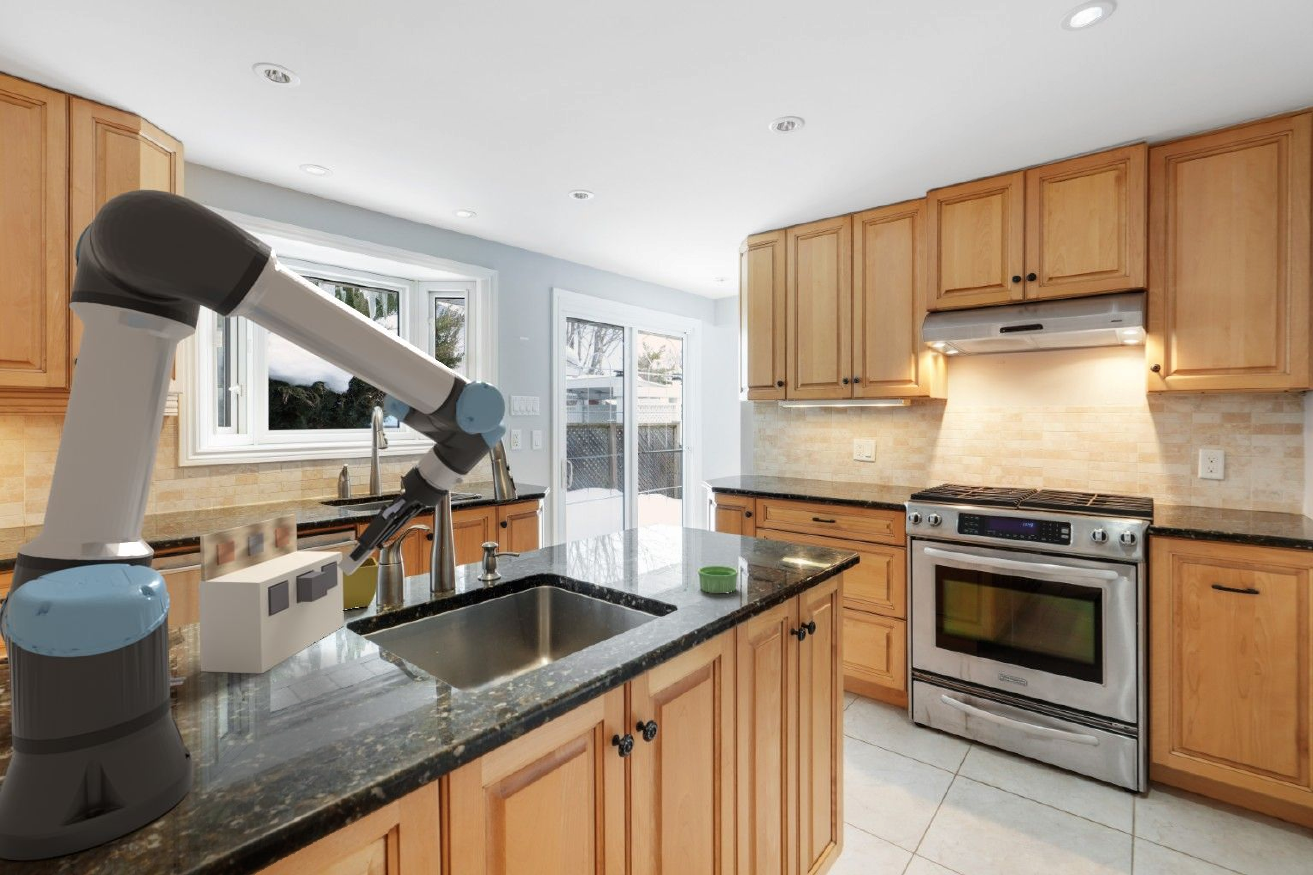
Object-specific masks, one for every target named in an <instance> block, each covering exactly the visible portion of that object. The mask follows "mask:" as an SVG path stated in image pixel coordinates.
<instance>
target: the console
mask: <svg viewBox="0 0 1313 875" xmlns="http://www.w3.org/2000/svg"><path fill="white" fill-rule="evenodd" d="M342 560H343V552H342V551H316V550H315V551H306V550H305V551H301V550H297V551H296V552H293V553H290V554H287V555H284V556H281V557H278V558H275V559H272V560H269V561H266V562H263V563H260V564H256V565H253V566H250V567H247V568H244V569H241V570H238V571H235V572H232V573H229V574H226V575H223V576H220V577H217V578H214V579H211V580H208V581H201V580H198V583H197V584H198V613H199V648H200V650H199V651H200V672H209V673H211V672H214V673H237V674H261V675H262V674H264V673H266V672H268V671H270V670H271V669H272V668H275V667H276V666H278V665H280V664H281V663H284V661H285V662H286V660H288V659H290V658H292V657H293V656H296V655H297V654H299V653H300V652H302V651H304V650H305V649H307V648H309V647H311V646H312V645H314V644H315V643H314V642H316V643H317V641H318V642H319V641H321V640H322V638H323V637H324V638H326V637H328V636H330V635H331V634H333V633H335V632H336V630H337V631H338V630H340V629H341V627H342V626H343V625H344V626H345V623H344V621H345V620H344V617H345V616H344V613H345V612H344V611H343V571H342V570H341V569H340V568H339V566H338V564H339V563H340V562H341V561H342ZM329 563H337V580H338V584H337V585H335V586H333V587H330V588H328V589H327V595H326V596H324V597H322V598H320V599H318V600H315V601H313V602H297V590H296V576H299V575H302V574H304V573H307V572H321V567H322V566H324V565H327V564H329ZM281 582H289V607H286V608H284V609H282V610H280V611H278V612H275V613H273V614H269V609H268V587H270V586H273V585H275V584H278V583H281ZM339 628H340V629H339ZM342 628H343V627H342ZM334 631H335V632H334ZM332 632H333V633H332ZM330 633H331V634H330ZM329 634H330V635H329ZM325 636H326V637H325ZM324 638H323V639H324ZM320 639H321V640H320ZM313 643H314V644H313ZM311 644H312V645H311ZM310 645H311V646H310ZM308 646H309V647H308ZM303 649H304V650H303Z"/></svg>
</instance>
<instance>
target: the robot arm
mask: <svg viewBox="0 0 1313 875" xmlns="http://www.w3.org/2000/svg"><path fill="white" fill-rule="evenodd" d="M74 252H75V253H74V259H75V261H76V262H75V267H76V270H75V276H74V279H73V280H74V281H73V285H72V291H71V295H70V301H69V308H70V309H71V311H72V312H73V313H74V314H75V315H76V317H78V319H79V320H80V321H81V322H82V324H83V329H82V333H81V334H82V335H81V338H80V339H81V340H80V342H79V343H80V344H79V349H78V354H77V357H76V358H77V360H76V363H75V368H74V374H73V377H72V378H73V379H72V383H71V387H70V388H71V389H70V393H69V396H68V402H67V408H66V410H65V412H66V413H65V416H64V421H63V422H64V423H63V426H62V427H63V428H62V432H61V436H60V440H59V446H58V451H57V456H56V462H55V466H54V471H53V475H52V479H51V485H50V489H49V495H48V500H47V504H46V508H45V514H44V518H43V524H42V529H41V532H40V533H39V534H38V535H37V536H36V537H34V538H33V539H31V540H30V541H28V542H26V543H24V544H23V545H21V546H20V547H19V548H18V550H17V555H16V560H15V564H14V569H13V574H12V579H11V584H10V587H9V591H7V593H6V598H4V600H3V601H2V602H1V606H0V636H1V638H2V641H3V642H4V643H5V644H4V645H5V650H6V654H7V655H6V656H7V662H8V663H7V664H8V674H9V688H10V689H9V691H10V692H9V694H10V716H11V737H12V738H11V739H12V740H11V741H12V755H11V759H10V762H9V765H8V767H7V771H6V773H5V776H4V779H3V782H2V785H1V787H0V858H1V859H4V860H13V861H33V860H43V859H49V858H55V857H59V856H65V855H68V854H69V855H70V854H73V853H76V852H81V851H83V850H88V849H91V848H93V847H96V846H99V845H103V844H104V843H108V842H110V841H112V840H115V839H118V838H121V837H123V836H125V835H127V834H130V833H132V832H133V831H136V830H138V829H140V828H142V827H143V826H145V825H147V824H149V823H150V822H152V821H154V820H157V818H160V817H161V816H162V815H164V814H165V813H167V812H168V811H170V810H171V809H172V808H174V807H175V806H176V805H177V804H178V803H180V802H181V801H182V799H183V798H184V797H186V795H187V794H188V793H189V791H190V790H191V788H192V786H193V784H194V781H195V780H194V778H195V777H194V775H195V774H194V759H193V755H192V753H191V751H190V750H189V749H188V748H187V747H186V745H185V742H184V739H183V736H182V734H181V731H180V729H179V727H178V725H177V723H176V721H175V719H174V717H173V715H172V707H171V686H170V683H171V682H170V674H171V673H170V672H171V671H170V640H169V611H170V606H171V605H170V604H171V602H170V601H171V600H170V595H169V593H168V591H167V584H166V580H165V578H164V577H163V575H162V574H161V573H160V572H159V571H157V570H155V569H154V568H152V566H153V564H152V563H153V559H154V552H155V550H154V549H153V548H152V547H151V546H150V545H149V544H148V542H146V541H145V540H144V539H143V537H142V532H143V528H144V526H143V525H144V521H145V516H146V510H147V506H148V501H149V500H148V499H149V494H150V490H151V484H152V479H153V473H154V469H155V468H154V467H155V462H156V457H157V453H158V449H159V448H158V447H159V443H160V438H161V431H162V428H163V427H162V426H163V422H164V416H165V411H166V405H167V401H168V395H169V390H170V385H171V379H172V373H173V371H174V370H173V368H174V365H175V358H176V352H177V350H178V349H177V348H178V344H179V343H180V342H181V341H183V340H185V339H187V338H189V337H191V336H192V335H194V334H196V329H197V324H198V320H199V317H200V316H199V314H200V310H201V307H204V308H206V309H209V310H211V311H213V312H215V313H217V314H218V315H221V316H222V317H224V318H226V319H228V318H229V319H230V318H235V317H242V318H245V319H247V320H249V321H251V322H252V323H255V324H256V325H258V326H259V327H261V328H264V329H265V330H268V331H269V332H271V333H273V334H275V335H277V336H279V337H280V338H283V339H284V340H286V341H288V342H290V343H292V344H294V345H296V346H298V347H299V348H301V349H303V350H305V351H306V352H309V353H310V354H313V355H315V356H316V357H318V358H320V359H322V360H323V361H325V362H327V363H329V364H330V365H333V366H335V367H337V368H339V369H340V370H343V371H344V372H346V373H349V375H352V376H354V377H356V378H358V379H359V380H361V381H363V382H365V383H367V384H368V385H370V386H372V387H374V388H376V389H378V390H379V391H381V392H384V393H386V395H385V397H384V401H383V406H384V410H385V411H386V413H388V414H389V415H391V416H392V417H393V418H394V419H396V420H397V421H399V423H402V424H404V425H406V426H407V427H409V428H411V429H413V430H414V431H416V432H417V433H420V434H421V435H423V436H424V437H426V438H428V439H430V440H432V441H433V442H434V443H435V444H434V445H433V446H432V447H431V448H429V450H428V451H427V452H426V453H425V454H424V455H423V456H422V457H421V458H420V459H419V460H418V463H417V464H415V465H414V466H413V467H412V468H411V469H409V471H408V472H407V473H406V474H405V475H404V476H403V478H402V485H403V487H404V492H403V493H398V494H397V495H396V496H395V497H394V498H393V500H392V502H391V503H390V504H389V505H388V504H385V505H382V507H381V508H380V510H379V511H378V513H377V515H376V516H375V517H374V518H373V519H372V520H371V522H370V523H369V525H367V527H366V528H365V529H364V530H363V532H362V533H361V534H360V535H358V536H357V537H356V538H357V539H356V541H357V544H356V545H355V546H354V547H353V548H352V549H351V550H350V551H349V552H348V554H346V555H345V556H344V557H343V558H342V561H341V562H340V563H339V564H338V566H339V568H340V569H341V570H342V571H343V572H344V573H345V574H346V575H347V576H349V575H351V574H353V573H354V572H355V571H356V570H357V569H358V568H359V567H360V565H361V564H362V563H363V562H364V561H365V560H366V559H367V558H370V556H372V554H373V553H374V552H375V551H376V550H377V549H378V550H379V551H382V550H384V549H385V546H384V544H386V543H388V542H389V541H390V540H391V539H392V538H393V537H394V536H395V535H396V534H397V533H399V531H401V529H403V528H404V527H405V526H406V525H407V524H409V522H410V521H412V519H413V518H415V517H416V515H418V514H419V513H420V512H421V511H422V510H424V509H425V508H427V507H429V508H434V507H436V506H438V505H439V504H440V503H441V502H442V501H443V500H444V499H445V498H446V497H447V496H448V494H449V493H450V491H452V490H453V489H454V488H455V487H456V486H457V485H460V486H461V485H463V483H464V480H463V478H465V477H466V475H467V474H468V473H469V472H471V471H472V470H473V469H474V468H475V466H477V465H478V464H479V462H481V460H482V459H483V458H485V457H486V456H487V454H488V453H490V451H492V450H493V449H494V448H495V447H496V446H497V444H498V443H499V442H500V441H501V440H502V438H503V437H504V436H505V434H506V432H507V428H506V424H505V422H504V421H503V420H504V416H505V412H506V403H505V399H504V396H503V394H502V392H501V391H500V390H499V388H497V387H496V386H495V385H493V384H492V383H489V382H485V381H480V380H473V381H471V379H468V378H467V377H465V376H463V375H462V374H460V373H458V372H456V371H454V370H453V369H451V368H449V367H447V366H446V365H445V364H443V363H442V362H440V361H438V360H436V359H435V358H433V357H432V356H431V355H428V354H427V353H425V352H424V351H422V350H420V349H419V348H417V347H415V346H414V345H412V344H411V343H409V342H408V341H407V340H404V339H403V338H401V337H399V336H398V335H396V334H395V333H393V332H392V331H390V330H388V329H387V328H385V327H384V326H382V325H380V324H379V323H378V322H375V321H374V320H372V319H371V318H369V317H367V316H365V315H364V314H362V313H361V312H360V311H358V310H356V309H355V308H353V307H352V306H350V305H348V304H346V303H345V302H343V301H341V299H338V298H337V297H335V296H334V295H332V294H330V293H329V292H327V291H326V290H324V289H322V288H321V287H319V286H318V285H316V284H314V283H313V282H311V281H309V280H308V279H306V278H305V277H303V276H302V275H300V274H299V273H297V272H295V271H294V270H292V269H290V268H288V267H287V266H285V265H284V264H282V263H281V262H280V261H279V260H278V257H277V254H276V251H275V249H274V248H273V247H271V246H270V245H268V244H267V243H265V242H264V241H262V240H260V239H259V238H258V237H256V236H254V235H253V234H251V233H249V232H248V231H247V230H244V229H243V228H241V227H240V226H238V225H236V224H235V223H233V222H232V221H230V220H229V219H227V218H225V217H223V216H222V215H221V214H218V213H216V212H215V211H213V210H212V209H209V208H207V207H205V205H202V204H200V203H198V202H196V201H194V200H192V199H190V198H188V197H185V196H182V195H178V194H176V193H172V192H168V191H165V190H164V191H163V190H157V189H136V190H130V191H128V192H124V193H121V194H119V195H117V196H115V197H113V198H111V199H109V200H108V201H107V202H106V203H104V204H103V205H102V206H101V208H100V209H99V211H98V212H97V213H96V215H95V217H94V218H93V220H92V222H91V223H90V224H88V225H87V227H85V229H83V231H82V233H81V234H80V236H79V237H78V241H77V244H76V247H75V251H74ZM54 856H55V857H54Z"/></svg>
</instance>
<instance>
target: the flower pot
mask: <svg viewBox="0 0 1313 875" xmlns="http://www.w3.org/2000/svg"><path fill="white" fill-rule="evenodd" d="M376 560H377V559H376V558H375V557H370V556H369V557H368V558H367V559H366V560H365V561H364V562H363V563H362V564H361V565H360V567H359V568H358V569H357V570H356V571H355V572H354V573H353V574H351V575H349V576H347V575H346V574H345V573H344V572H343V610H345V609H351V608H355V607H365V606H369V607H370V606H371V604H372V602H373V600H374V598H375V595H376V592H377V586H378V576H377V571H378V572H379V564H378V562H377V561H376Z"/></svg>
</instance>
